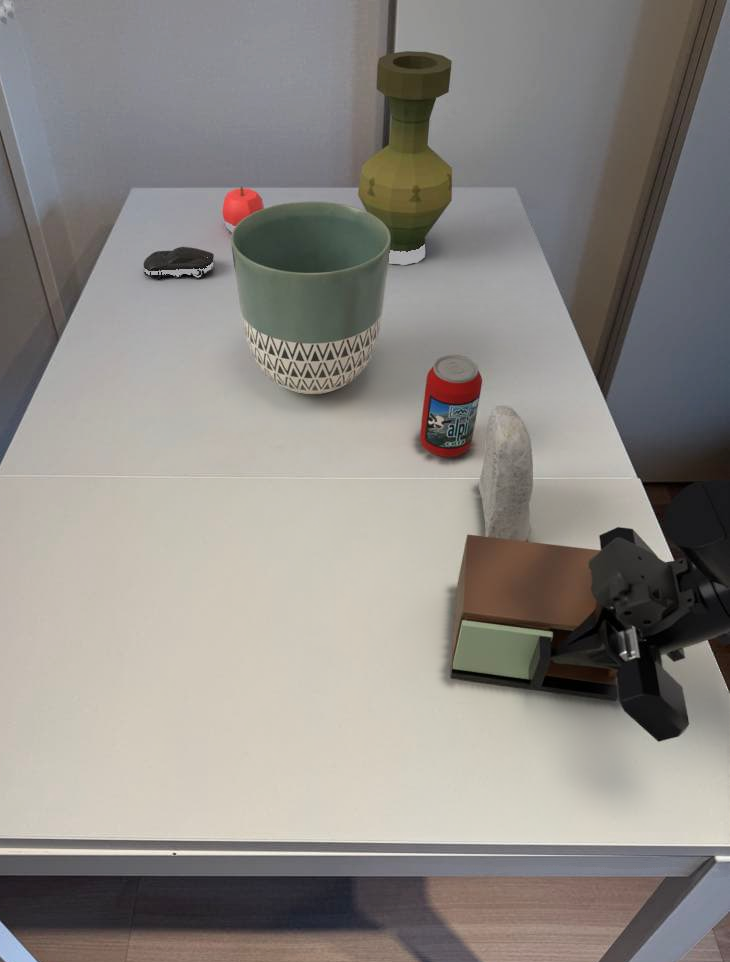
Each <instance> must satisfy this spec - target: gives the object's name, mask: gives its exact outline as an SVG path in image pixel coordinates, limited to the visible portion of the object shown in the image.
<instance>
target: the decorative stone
mask: <svg viewBox="0 0 730 962" xmlns="http://www.w3.org/2000/svg"><path fill="white" fill-rule="evenodd" d="M531 441H532V440H531V435H530V433H529V431H528V429H527V425H526V423H525V422H524V421H523V419H522V418H521V416H520V414H518V413H517V412H516V410H515V409H514V408H513V407H512V406H509V405H504V404H501V405H496V406H494V407H493V408H492V409H491V411H490V413H489V416H488V421H487V428H486V433H485V445H484V446H485V448H484V455H483V462H482V467H481V472H480V477H479V480H478V490H479V493H480V497H481V502H482V503H481V504H482V511H483V517H484V525H485V532H484V533H485V536H484V537H493V538H501V539H510V540H518V541H526V542H527V540H528V539H529V537H530V532H531V524H530V517H531V509H530V508H531V507H530V503H531V498H532V494H533V488H534V462H533V447H532V442H531Z"/></svg>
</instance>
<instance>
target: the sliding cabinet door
mask: <svg viewBox="0 0 730 962" xmlns="http://www.w3.org/2000/svg"><path fill="white" fill-rule="evenodd" d="M552 638H553V632H550V631H542V630H534V629H527V628H519V627H511V626H504V625H496V624H489V623H481V622H473V621H466V620H462V624H461V629H460V633H459V638H458V643H457V647H456V652H455V657H454V661H453V669H457V670H465V671H472V672H479V673H486V674H494V675H501V676H508V677H515V678H522V679H529V689H528V690H532V691H538V690H540V688H541V685H542V683H543V680H544V677H545V675H546V672H547V669H548V667H549V664H550V661H551V641H552Z"/></svg>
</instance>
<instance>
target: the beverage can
mask: <svg viewBox="0 0 730 962" xmlns="http://www.w3.org/2000/svg"><path fill="white" fill-rule="evenodd" d="M482 386H483V378H482V375H481V373H480V371H479V365H478V364H477V362H476V361H475V360H473V359H472V358H470V357H468V356H465V355H461V354H445V355H443V356H441V357H439V358H437V359H436V360H435V362H434V364H433V366H432V367H431V368H430V369H429V371H428V372H427V374H426V379H425V389H424V396H423V406H422V412H421V421H420V422H421V425H420V433H419V441H420V444H421V445H422V447H423V448H424V449H425V450H426V451H427V452H429V453H431V454H433V455H436V456H440V457H447V458H448V457H449V458H450V457H456V456H460V455H462V454H464V453H466V452H467V451H468V450H469V449H470V447H471V445H472V442H473V441H472V440H473V438H474V437H473V436H474V432H475V426H476V420H477V415H478V409H479V403H480V397H481V393H482V392H481V391H482Z"/></svg>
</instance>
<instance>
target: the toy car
mask: <svg viewBox="0 0 730 962" xmlns="http://www.w3.org/2000/svg"><path fill="white" fill-rule="evenodd" d="M207 257H208V258H207ZM214 257H215V255H214V253H213V252H211V251H208V250H203V249H200V248H196V247H191V246H179V247H176V248H173V250H158V251H157V250H156V251H154V252H152V253H151V254H150V255H148V256H147V257H146V258H145V259H144V261H143V269H144V268H145V269H147V270H148V271H159V270H160V271H161V270H176V269H178V270H179V269H193V268H194V269H199V268H200V269H203V268H204V269H205V268H207V267H206V266H208V265H210V264H211V263H212V262H213V260H214ZM143 274H144V275H145V276H148V277H151V278H152V279H154V280H159V279H161V278H162V277H173V278H175V277H176V278H175V279H179V278H178V277H177V276H176V275H175V277H174V276H173V275H172V276H170V274H166V275H165V274H164V275H162V272H161V275H159V272H158V275H151V272H150V275H148V274H146V272H144V271H143ZM197 276H198V275H197ZM201 276H202V275H201ZM179 277H180V275H179ZM202 277H203V276H202ZM180 278H181V277H180ZM196 279H198V278H196Z"/></svg>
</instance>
